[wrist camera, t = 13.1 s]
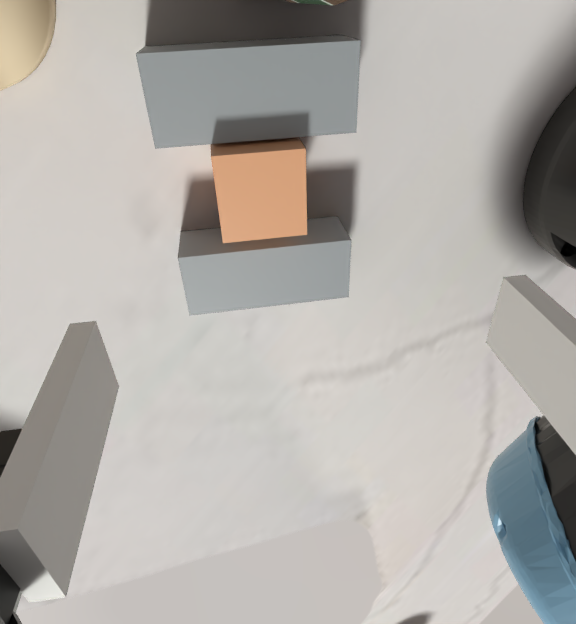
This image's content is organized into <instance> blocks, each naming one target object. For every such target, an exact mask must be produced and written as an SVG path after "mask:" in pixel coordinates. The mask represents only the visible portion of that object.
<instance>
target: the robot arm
mask: <svg viewBox="0 0 576 624" xmlns="http://www.w3.org/2000/svg"><path fill="white" fill-rule="evenodd" d="M523 205H524V214H525V219H526V222H527V225H528V228H529V230H530V232H531V234H532V236H533V237H534V239H535V240H536V241H537V243H538V244H539V245H540V246H541V247H542V248H544V249H545V250H546V251H548V252H549V253H550V254H552V255H553V256H554V257H556V258H557V259H558V260H560V261H561V262H562V263H564V264H566V265H567V266H569V267H571V268H574V269H576V87H575V89H574V90H573V91H572V92H571V93H570V94H569V95H568V97H567V98H566V99H565V100H564V102H563V103H562V104H561V105H560V107H559V108H558V110H557V111H556V112H555V114H554V115H553V117H552V118H551V120H550V121H549V123H548V125H547V126H546V128H545V130H544V131H543V133H542V135H541V137H540V139H539V141H538V143H537V145H536V148H535V150H534V152H533V155H532V158H531V160H530V164H529V167H528V170H527V174H526V179H525V185H524V194H523ZM486 343H487V344H488V346H489V347H490V348H491V349H492V351H493V352H494V353H495V354H496V356H497V357H498V358H499V359H500V361H501V362H502V363H503V365H504V366H505V367H506V368H507V370H508V371H509V372H510V373H511V375H512V376H513V377H514V378H515V380H516V381H517V382H518V383H519V385H520V386H521V387H522V388H523V390H524V391H525V392H526V393H527V395H528V396H529V397H530V398H531V400H532V401H533V402H534V403H535V405H536V406H537V407H538V408H539V410H540V411H541V412H542V414H543V415H544V416H542V417H537V416H536V417H535V418H533V419H532V420H531V421H530V422H529V424H528V427H527V429H526V430H525V431H524V432H523V433H522V434H521V435H520V436H519V437H518V438H517V439H516V440H515V441H514V442H513V443H512V444H511V445H509V446H508V447H507V448H506V449H505V450H504V451H503V452H502V453H501V454H500V455H499V456H498V457H497V458H496V459H495V461H494V462H493V464H492V466H491V467H490V470H489V473H488V477H487V484H486V494H487V503H488V509H489V514H490V518H491V521H492V525H493V528H494V530H495V533H496V535H497V538H498V540H499V542H500V545H501V549H502V552H503V554H504V556H505V558H506V560H507V562H508V565H509V567H510V569H511V571H512V573H513V575H514V576H515V578H516V580H517V582H518V584H519V585H520V587H521V589H522V591H523V592H524V594H525V596H526V597H527V599H528V600H529V602H530V604H531V605H532V607H533V608H534V610H535V611H536V613H537V614H538V616H539V617H540V618H541V620H542V621H543V623H544V624H576V319H575V318H574V317H573V316H572V315H571V314H569V313H568V312H567V311H566V310H565V309H564V308H563V307H561V306H560V305H559V304H558V303H557V302H556V301H555V300H553V299H552V298H551V297H550V296H549V295H548V294H547V293H545V292H544V291H543V290H542V289H541V288H540V287H539V286H537V285H536V284H535V283H534V282H533V281H532V280H531V279H530V278H528V277H527V276H526V275H520V276H511V277H503V281H502V285H501V288H500V292H499V296H498V299H497V303H496V307H495V311H494V314H493V318H492V322H491V325H490V329H489V333H488V336H487V340H486ZM118 388H119V385H118V382H117V380H116V377H115V374H114V371H113V368H112V365H111V363H110V360H109V357H108V354H107V351H106V348H105V346H104V343H103V340H102V337H101V334H100V331H99V329H98V326H97V323H96V321H92V322H82V323H73V324H70V325H69V327H68V329H67V331H66V334H65V336H64V338H63V340H62V343H61V345H60V347H59V349H58V351H57V354H56V356H55V358H54V360H53V362H52V365H51V367H50V369H49V371H48V373H47V376H46V378H45V380H44V382H43V384H42V387H41V389H40V391H39V393H38V395H37V398H36V400H35V402H34V404H33V406H32V409H31V411H30V413H29V415H28V417H27V420H26V422H25V424H24V426H23V428H22V429H17V430H9V431H1V432H0V624H22V623H21V621H20V619H19V618H18V616H17V614H16V613H15V612H14V611H13V610H14V607H15V604H16V601H17V598H18V595H19V592H21V593H22V594H23V595H24V596H25V598H26V599H27V600H28V601H29V603H31V602H38V601H44V600H50V599H57V598H63V597H66V595H67V591H68V587H69V583H70V579H71V575H72V571H73V567H74V563H75V559H76V555H77V551H78V547H79V543H80V539H81V535H82V531H83V527H84V523H85V519H86V515H87V511H88V507H89V503H90V499H91V495H92V491H93V487H94V483H95V479H96V475H97V471H98V468H99V464H100V460H101V456H102V452H103V448H104V444H105V440H106V436H107V432H108V428H109V424H110V420H111V416H112V412H113V408H114V404H115V400H116V396H117V392H118Z"/></svg>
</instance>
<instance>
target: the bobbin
mask: <svg viewBox="0 0 576 624" xmlns="http://www.w3.org/2000/svg"><path fill="white" fill-rule="evenodd" d="M55 21H56V3H55V0H0V90H3V89H5V88H8V87H10V86H12V85H14V84H16V83H18V82H20V81H22V80H23V79H25V78H26V77H28V76H29V75H30V74H31V73H32V72H33V71H34V70H35V69H36V68H37V67H38V66H39V65H40V63H41V62H42V60H43V59H44V57H45V56H46V53H47V51H48V49H49V47H50V44H51V41H52V38H53V34H54V28H55Z"/></svg>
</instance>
